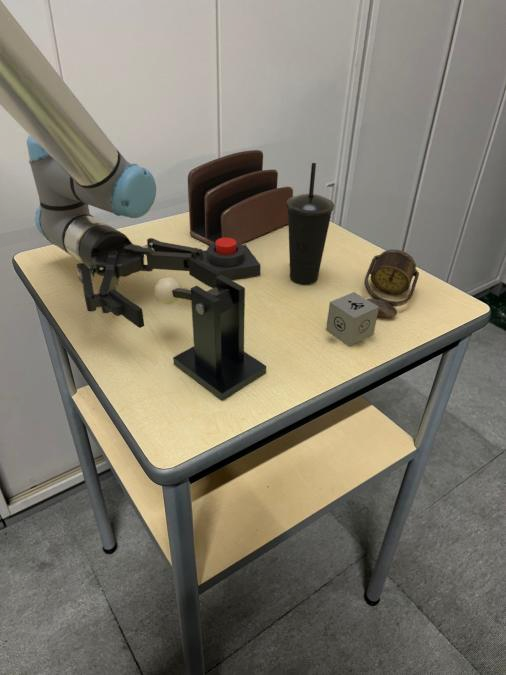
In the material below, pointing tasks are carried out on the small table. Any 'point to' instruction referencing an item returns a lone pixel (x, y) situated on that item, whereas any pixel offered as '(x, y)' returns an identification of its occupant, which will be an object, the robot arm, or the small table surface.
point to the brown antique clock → (391, 279)
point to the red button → (225, 246)
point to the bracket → (219, 343)
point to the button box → (233, 262)
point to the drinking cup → (307, 233)
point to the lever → (188, 293)
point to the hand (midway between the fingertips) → (182, 299)
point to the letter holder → (235, 199)
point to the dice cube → (352, 318)
